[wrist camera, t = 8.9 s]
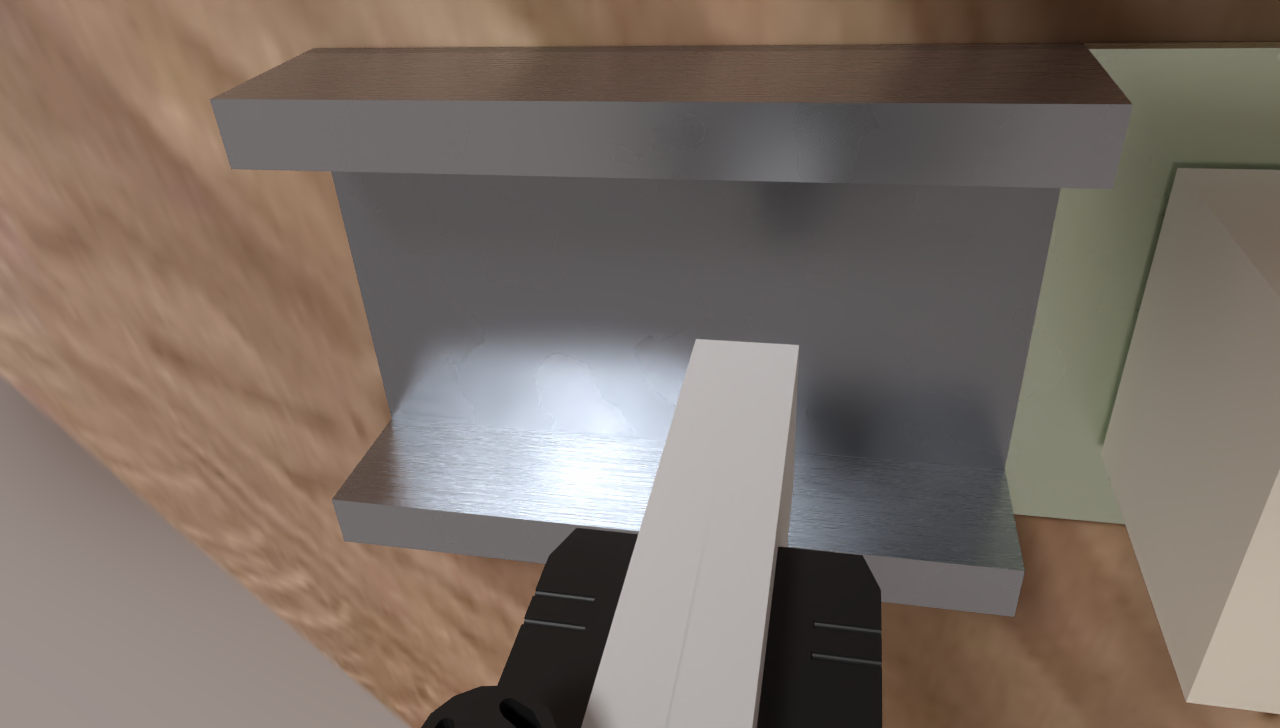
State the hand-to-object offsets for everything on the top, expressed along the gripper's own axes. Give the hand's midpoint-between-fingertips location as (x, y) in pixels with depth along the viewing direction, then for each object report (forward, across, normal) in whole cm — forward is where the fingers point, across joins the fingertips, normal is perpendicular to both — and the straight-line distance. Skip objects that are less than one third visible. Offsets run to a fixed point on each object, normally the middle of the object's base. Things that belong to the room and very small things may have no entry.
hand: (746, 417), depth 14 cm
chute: (+5, +3, -1) cm, 6 cm away
